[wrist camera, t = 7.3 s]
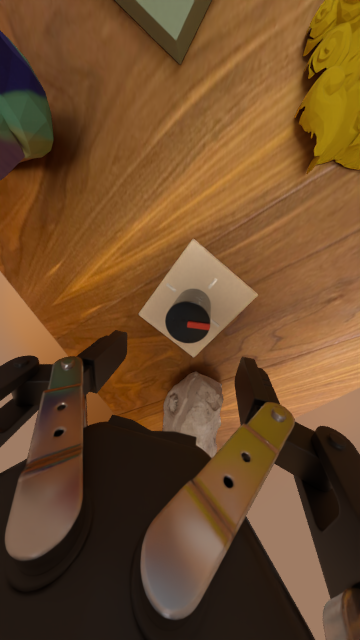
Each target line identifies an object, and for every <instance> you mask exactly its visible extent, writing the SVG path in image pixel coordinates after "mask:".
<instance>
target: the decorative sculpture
mask: <svg viewBox="0 0 360 640" xmlns="http://www.w3.org/2000/svg"><path fill="white" fill-rule="evenodd" d="M53 140H54V139H53V128H52V118H51V112H50V108H49V104H48V101H47V97H46V94H45V91H44V89H43V87H42V86H41V84H40V82H39V80H38V79H37V77H36V75H35V73H34V71H33V70H32V68H31V66H30V64H29V62H28V61H27V59H26V58H25V57H24V56H23V54H22V53H21V52H20V51H19V50H18V49H17V48H16V46H15V45H14V44H13V43H12V42H11V41H10V39H9V38H7V37H6V36H5V35H4V34H3V33H2V32H1V31H0V180H1V179H3V178H4V177H5V176H6V175H7V174H8V173H9V172H10V171H11V170H12V169H13V168H14V167H15V166H16V165H17V164H18V163H21V162H24V161H27V160H30V159H33V158H42V157H43V156H44V155H46V154H47V153H48V152H50V151H51V148H52V144H53Z"/></svg>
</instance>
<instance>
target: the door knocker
mask: <svg viewBox="0 0 360 640" xmlns="http://www.w3.org/2000/svg"><path fill="white" fill-rule="evenodd" d="M309 28H312V30H311V33H310V36H311V37H312V38H314V40H312V39H308V41H307V44H306V47H305V51H304V54H303V56H306V55H307V54H308V53H309V52H310V51H311V50H312V49H313V48H314V47H315V46H316V45H317V44H318V43H319V41H320V40H321V39H322V38H323V40H322V41H321V43H320V44H319V45H318V47H317V48H316V50H315V51H314V53H313V54H312V56H311V57H310V59H309V62H308V63H309V76H308V79H310V78H311V77H312V76H313V75H314V74H315V73H317V72H319V71H321V70H322V69H324V68H327V70H326V71H324V72H323V74H322V75H321V76H320V77H319V78H318V79H317V80H316V82H315V83H314V85H313V86H312V87H311V89H310V90H309V92H308V93H307V94H306V96H305V98H304V100H303V102H302V103H301V105H300V106H301V108H300V107H299V108H298V110H297V112H296V115H295V118H296V116H297V114H298V112H299V109H300V110H301V109H302V108H303V107H304V106H305V110H304V111H303V112H302V116H301V117H300V121H299V125H302V127H303V129H304V131H305V132H306V131H308V134H309V132H310V131H311V139H312V136H313V133H315V134H316V136H317V140H316V142H317V144H316V146H315V148H314V156H316V157H315V158H314V159H313V160H312V161H311V163H310V165H309V167H308V170H307V173H306V174H308V173H309V172H310V171H311V170H312V169H313V168H314V166H315V165H316V164H323V163H326V162H329V161H331V160H333V159H335V160H336V161H335V162H338V163H340V164H342V165H343V166H344V167H348V168H350V169H357V170H360V0H325V1H324V2H323V4H322V5H321V6H320V7H319V9H318V11H317V12H316V14H315V16H314V17H313V19H312V21H311V23H310V26H309ZM309 28H308V30H309ZM308 30H307V33H308ZM307 33H306V34H307ZM305 37H306V36H305ZM312 59H313V67H314V70H315V73H314V72H313V71H312V70H311V69H310V64H311V61H312ZM307 65H308V64H307ZM306 67H307V66H306ZM305 70H306V68H305ZM305 70H304V71H305Z"/></svg>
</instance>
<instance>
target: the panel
mask: <svg viewBox="0 0 360 640" xmlns="http://www.w3.org/2000/svg"><path fill="white" fill-rule="evenodd" d="M188 289H199V290H201V291H203V292H204V293H206V295H207V296H208V297H209V299H210V302H211V320H210V329H209V332H208V334H207V335H206V336H205V337H204V338H203V339H202V340H200V341H198V342H195V343H182V342H179V341H177V340H176V339H174V338H173V337H172V336H171V335H170V334H169V332H168V330H167V328H166V324H165V318H166V314H167V312H168V310H169V309H170V308H171V306H172V305H173V303H174V302H175V301H176V299H177V298H178V297H179V295H180V294H181V293H182V292H184V291H185V290H188ZM257 296H258V294H257V293H256V292H255V291H254V290H253V289H252V288H251V287H249V286H248V285H247V284H246V283H245V282H244V281H242V280H241V279H240V278H239V277H238V276H237V275H235V274H234V273H233V272H232V271H231V270H230V269H229V268H227V267H226V266H225V265H224V264H223V263H222V262H220V261H219V260H218V259H217V258H216V257H215V256H214V255H212V254H211V253H210V252H209V251H208V250H207V249H205V248H204V247H203V246H202V245H201V244H200V243H198V242H197V241H196V240H195V239H192V240H191V242H190V243H189V245H188V246H187V247H186V249H185V250H184V251H183V253H182V254H181V256H180V257H179V258H178V260H177V261H176V263H175V264H174V265H173V267H172V268H171V269H170V271H169V272H168V274H167V275H166V276H165V278H164V279H163V281H162V282H161V283H160V285H159V286H158V287H157V289H156V290H155V292H154V293H153V294H152V296H151V297H150V298H149V300H148V301H147V303H146V304H145V305H144V307H143V308H142V310H141V311H140V312H139V314H138V315H140V316H141V317H142V318H143V319H145V320H146V321H147V322H149V323H150V324H151V325H152V326H154V327H155V328H156V329H158V330H159V331H160V332H161V333H163V334H164V335H165V336H167V337H168V338H169V339H170V340H172V341H173V342H174V343H176V344H177V345H178V346H180V347H181V348H182V349H183V350H185V351H186V352H187V353H189V354H190V355H191V356H192V357H195V356H196V355H197V354H198V353H199V352H200V351H201V350H202V349H203V348H204V347H205V346H206V345H207V344H208V343H209V342H210V341H211V340H212V339H213V338H214V337H215V336H217V335H218V334H219V333H220V332H221V331H222V330H223V329H224V328H225V327H226V326H227V325H228V324H229V323H230V322H231V321H232V320H233V319H234V318H235V317H236V316H237V315H238V314H239V313H240V312H241V311H242V310H243V309H244V308H245V307H246V306H247V305H249V304H250V303H251V302H252V301H253V300H254V299H255V298H256V297H257Z"/></svg>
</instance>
